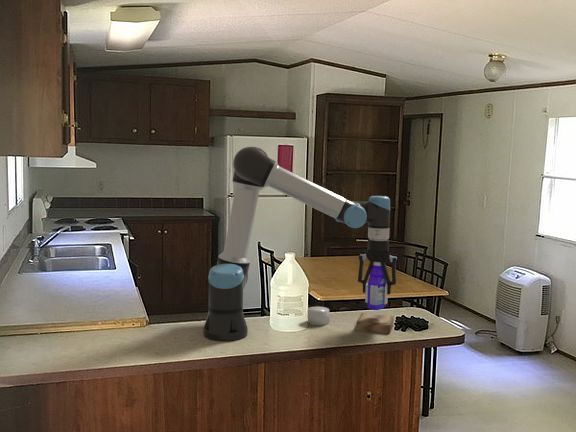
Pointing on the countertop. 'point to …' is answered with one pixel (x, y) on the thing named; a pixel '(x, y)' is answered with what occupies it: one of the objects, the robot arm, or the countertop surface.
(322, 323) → the grey rounded block
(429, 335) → the countertop surface
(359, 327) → the base
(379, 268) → the bottle
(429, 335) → the countertop surface
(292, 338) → the countertop surface
